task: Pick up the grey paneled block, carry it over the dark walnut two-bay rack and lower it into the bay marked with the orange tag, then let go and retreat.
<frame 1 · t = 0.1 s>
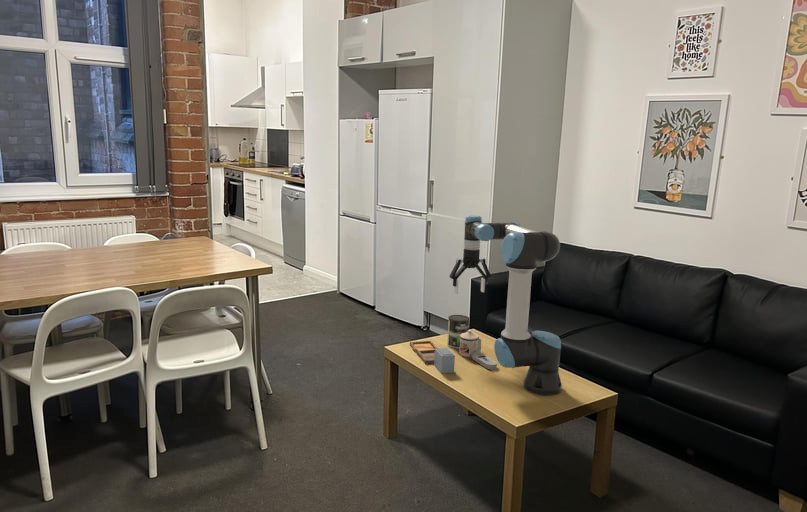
hand: (469, 292, 268), 28 cm above the table, fingers open, 13 cm apart
rack: (428, 353, 265), on the table
electronic device: (484, 364, 255), on the table, touching teacup with lid
coffee can: (457, 345, 278), on the table
teacup with lid: (470, 355, 265), on the table, touching electronic device
grey paneled block: (443, 369, 248), on the table
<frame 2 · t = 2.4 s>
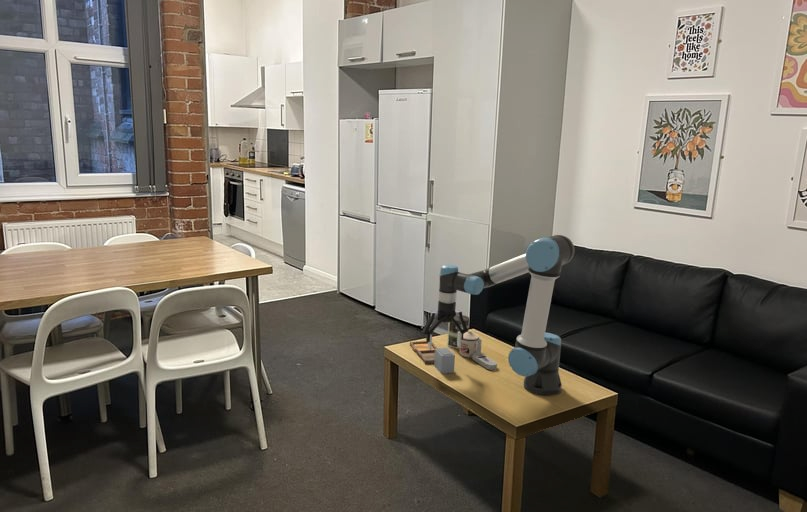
hand: (444, 347, 246), 10 cm above the table, fingers open, 13 cm apart
nothing on the table moved.
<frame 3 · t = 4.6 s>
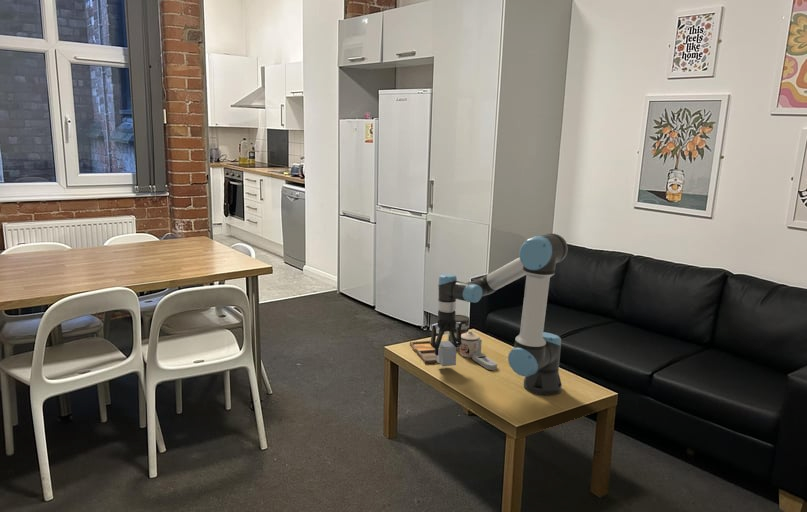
hand: (445, 361, 246), 4 cm above the table, fingers closed on grey paneled block, 6 cm apart
grey paneled block: (445, 362, 246), point 3 cm above the table, touching gripper
everything else where it was.
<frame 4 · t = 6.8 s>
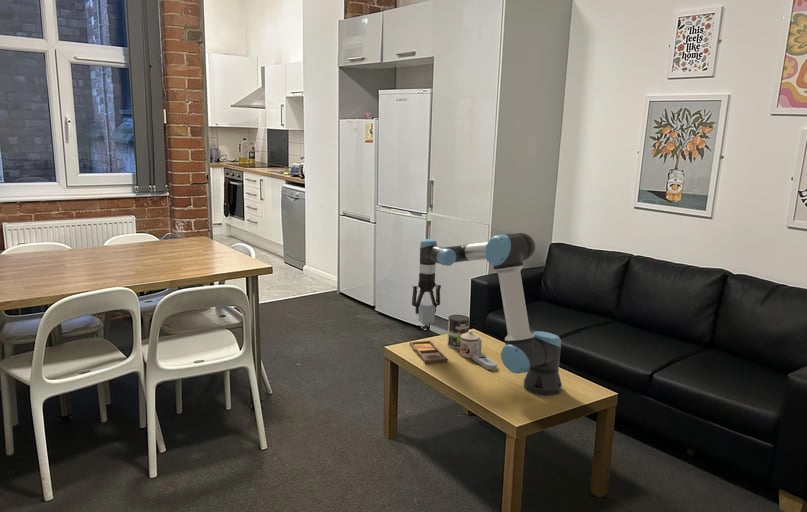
hand: (425, 319, 268), 15 cm above the table, fingers closed on grey paneled block, 6 cm apart
grey paneled block: (425, 320, 268), point 14 cm above the table, touching gripper
everything else where it was.
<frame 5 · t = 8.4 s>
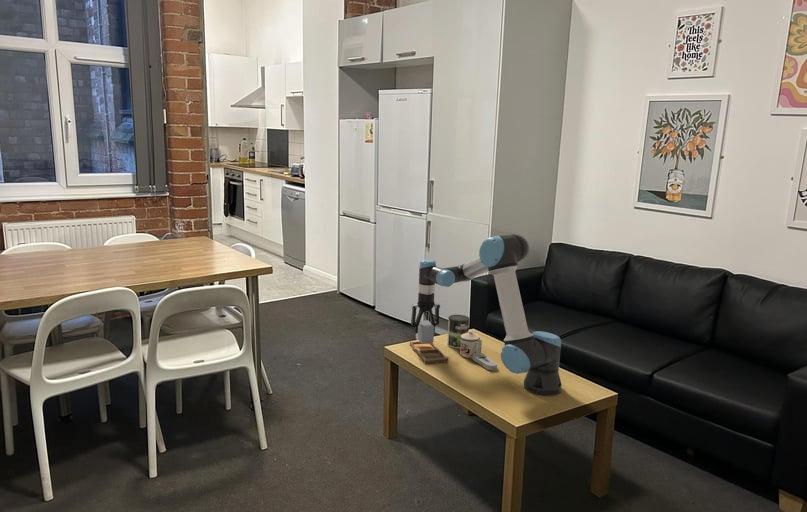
hand: (424, 338, 270), 5 cm above the table, fingers closed on grey paneled block, 6 cm apart
grey paneled block: (424, 339, 270), point 5 cm above the table, touching gripper
everything else where it was.
when the fingers open (2 cm above the table, at t = 9.3 s): grey paneled block drops 1 cm, resting on rack.
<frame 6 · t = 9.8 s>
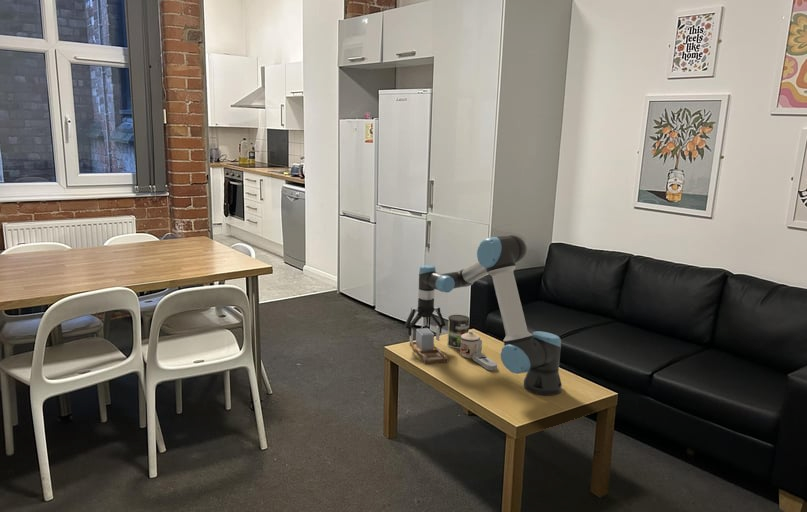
hand: (424, 340, 270), 4 cm above the table, fingers open, 13 cm apart
grey paneled block: (424, 347, 271), point 1 cm above the table, touching rack
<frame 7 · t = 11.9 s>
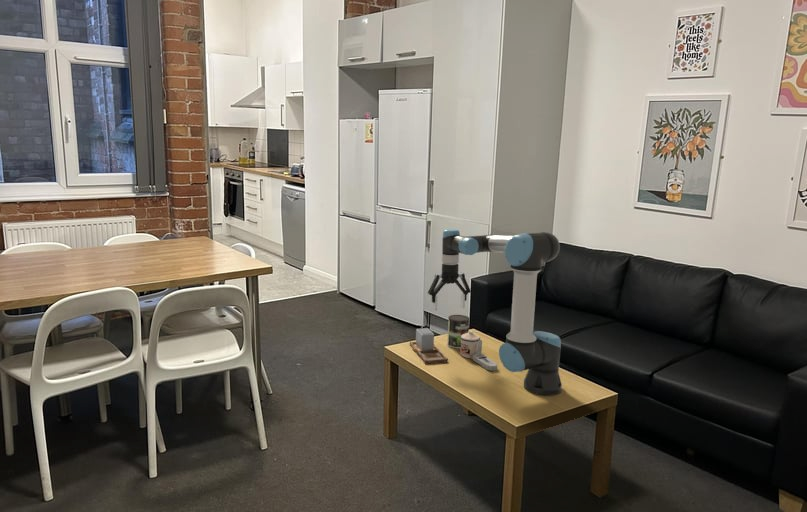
hand: (448, 308, 260), 22 cm above the table, fingers open, 13 cm apart
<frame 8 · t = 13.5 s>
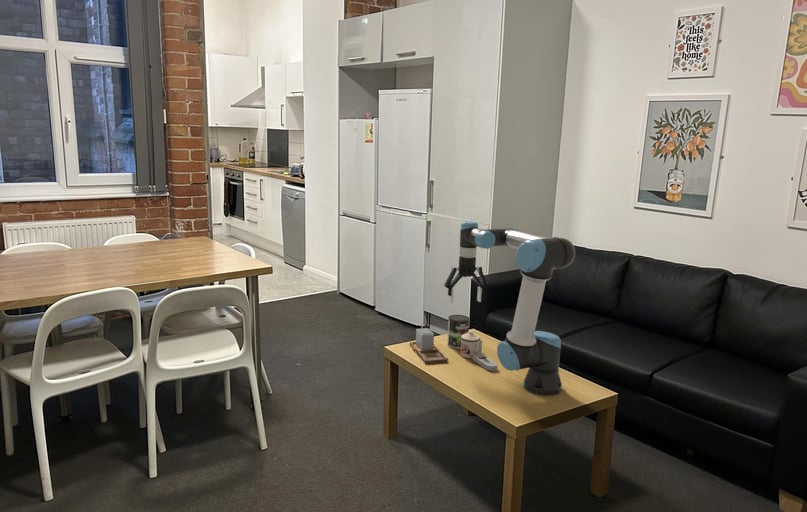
hand: (465, 302, 256), 27 cm above the table, fingers open, 13 cm apart
electronic device: (484, 365, 253), on the table, touching teacup with lid
at the end: grey paneled block inside the target area on the rack (0.2 cm from its centre), point 0.8 cm above the rack's base; grey paneled block tilted 0°; the gripper is holding nothing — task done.
